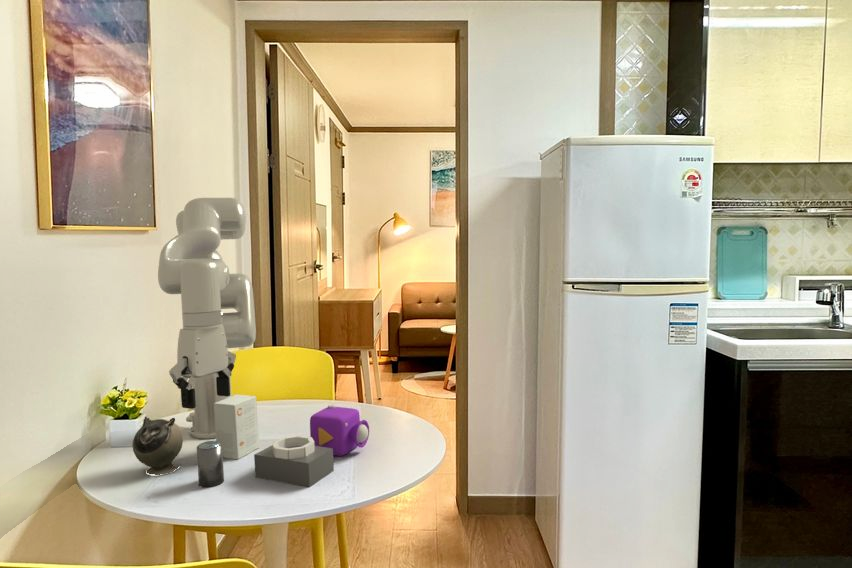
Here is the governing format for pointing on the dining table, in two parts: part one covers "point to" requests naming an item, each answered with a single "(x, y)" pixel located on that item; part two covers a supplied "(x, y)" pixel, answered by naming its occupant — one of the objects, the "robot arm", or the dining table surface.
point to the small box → (237, 425)
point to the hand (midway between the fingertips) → (206, 401)
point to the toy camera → (339, 429)
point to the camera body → (294, 461)
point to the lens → (210, 464)
